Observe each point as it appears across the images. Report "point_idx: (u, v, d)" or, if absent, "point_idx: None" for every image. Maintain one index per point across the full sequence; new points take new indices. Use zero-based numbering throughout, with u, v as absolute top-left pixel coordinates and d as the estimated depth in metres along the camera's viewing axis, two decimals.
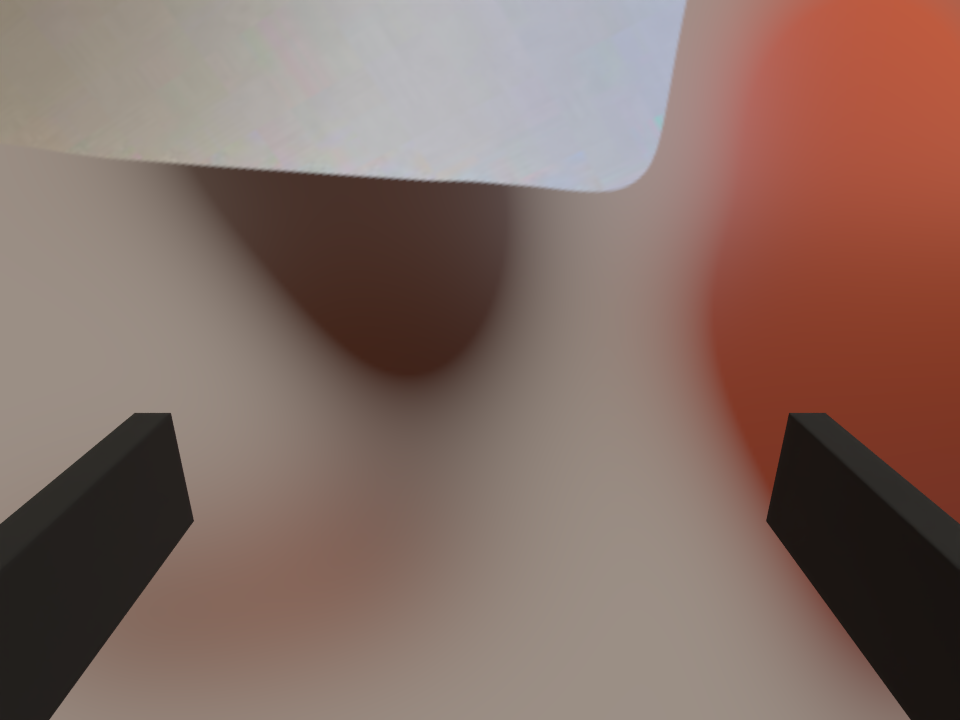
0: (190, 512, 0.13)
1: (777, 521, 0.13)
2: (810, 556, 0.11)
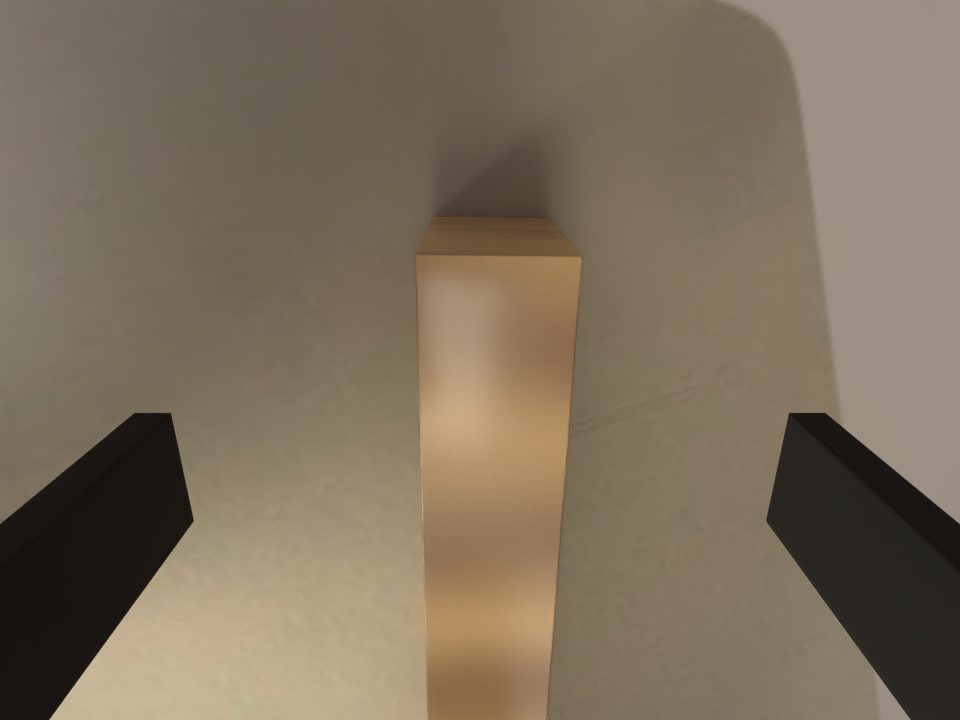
0: (191, 512, 0.13)
1: (777, 521, 0.13)
2: (810, 556, 0.11)
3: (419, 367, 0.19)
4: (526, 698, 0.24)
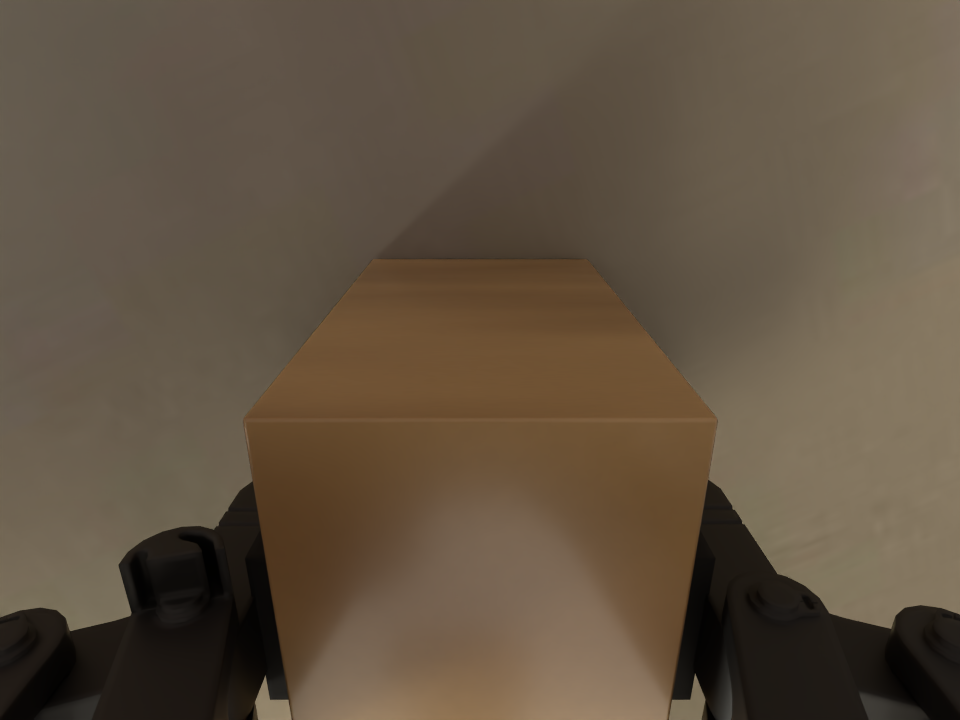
0: None
1: None
2: None
3: (286, 675, 0.07)
4: None
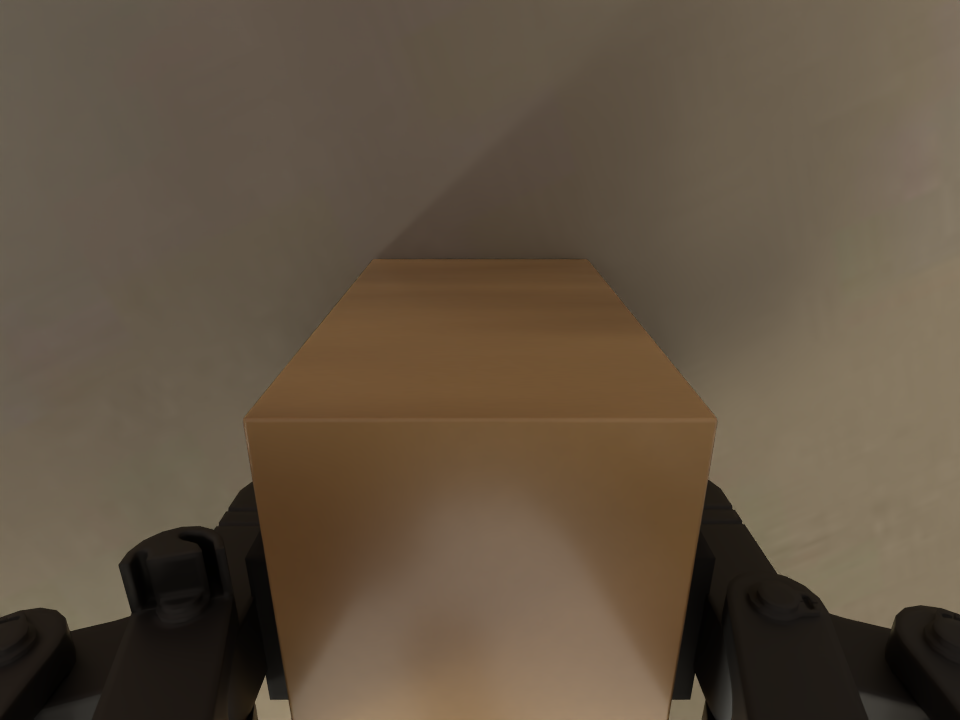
0: None
1: None
2: None
3: (286, 675, 0.07)
4: None
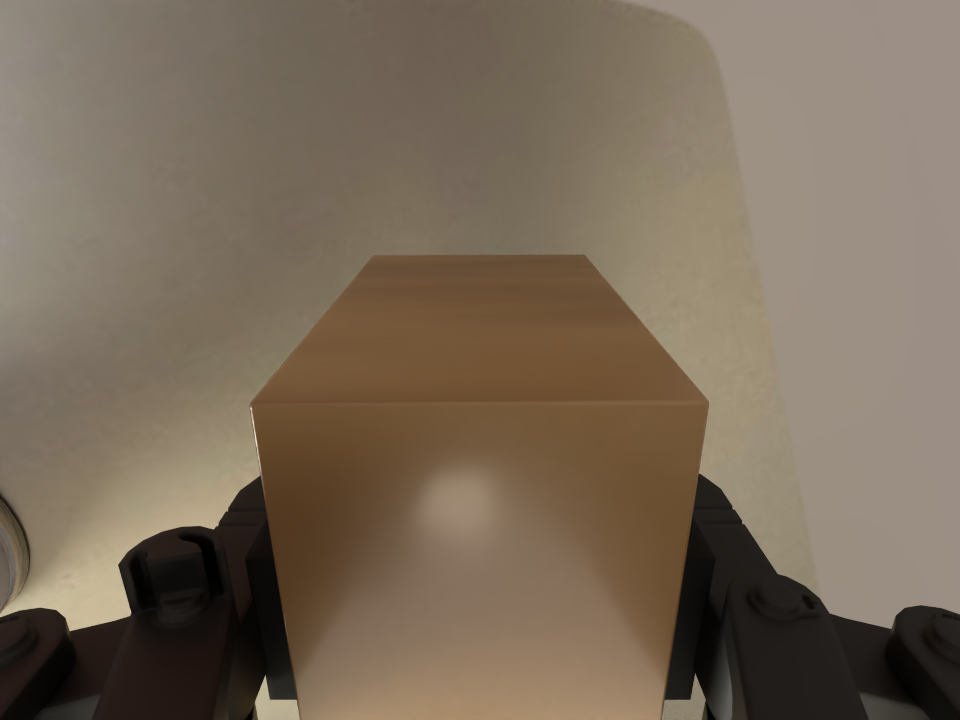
0: None
1: None
2: None
3: (291, 657, 0.08)
4: None
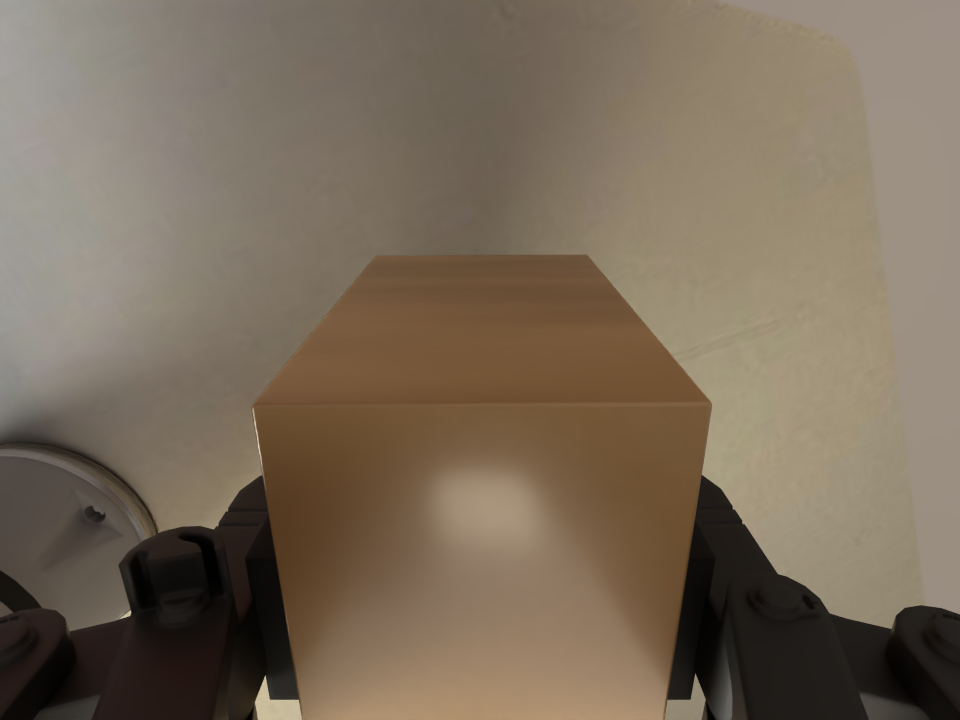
0: None
1: None
2: None
3: (293, 658, 0.08)
4: None
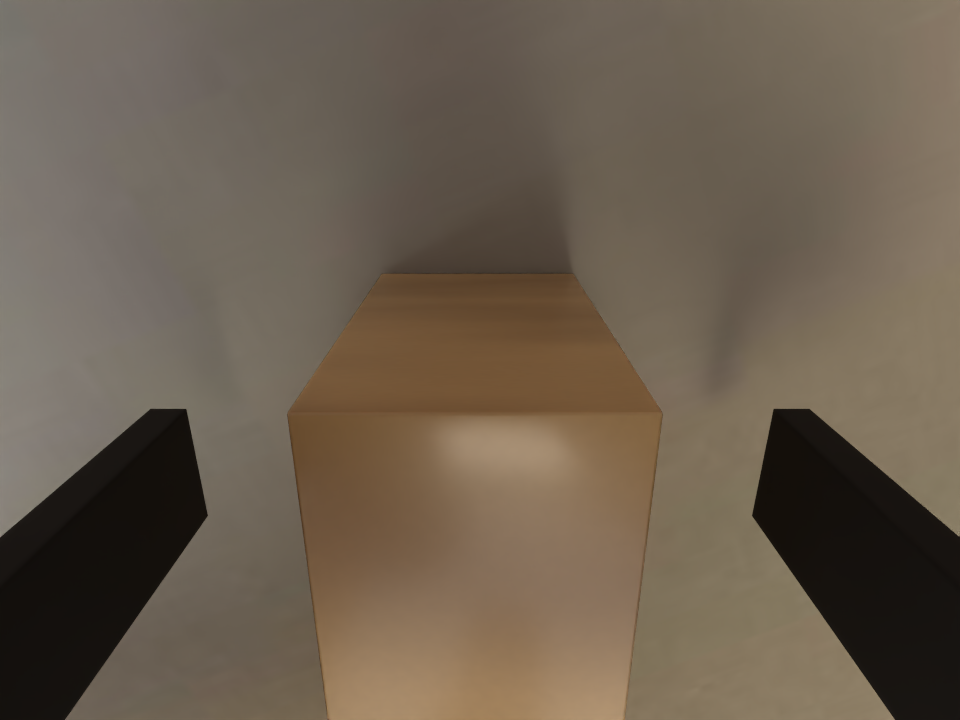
0: (205, 507, 0.13)
1: (762, 516, 0.13)
2: (793, 550, 0.12)
3: (316, 624, 0.09)
4: None
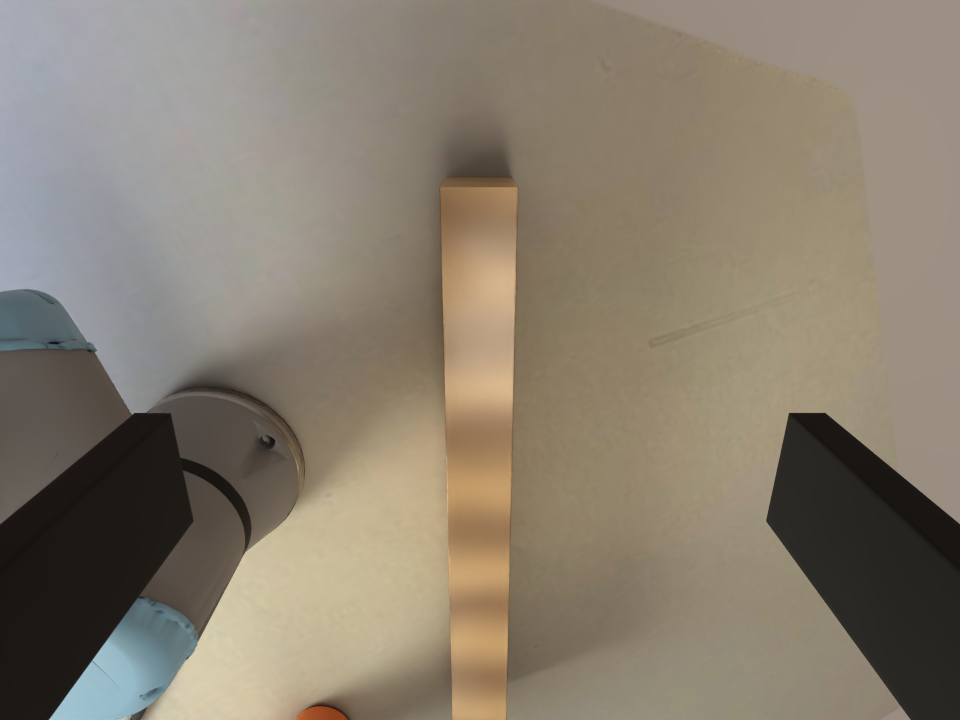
0: (191, 512, 0.13)
1: (777, 521, 0.13)
2: (810, 556, 0.12)
3: (441, 243, 0.39)
4: (500, 440, 0.44)
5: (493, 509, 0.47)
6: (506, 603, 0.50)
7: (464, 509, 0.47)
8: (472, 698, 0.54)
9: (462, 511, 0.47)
